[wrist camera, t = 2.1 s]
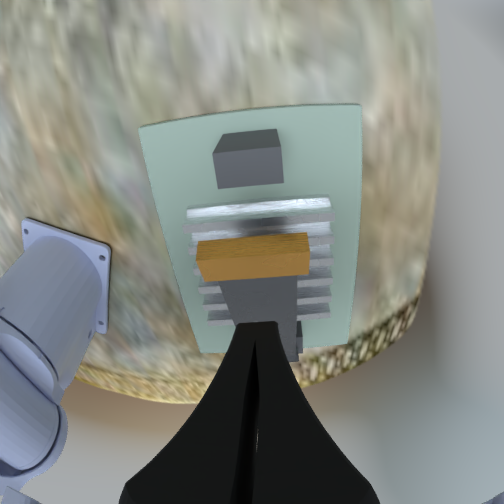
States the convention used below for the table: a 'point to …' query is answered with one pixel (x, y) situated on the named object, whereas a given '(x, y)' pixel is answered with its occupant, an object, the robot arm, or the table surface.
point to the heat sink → (268, 223)
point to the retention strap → (259, 278)
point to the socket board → (260, 191)
